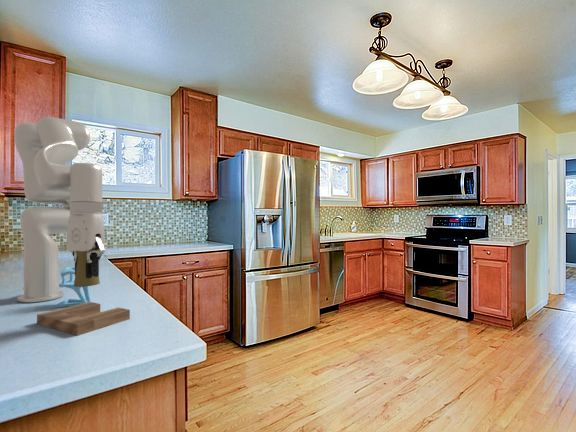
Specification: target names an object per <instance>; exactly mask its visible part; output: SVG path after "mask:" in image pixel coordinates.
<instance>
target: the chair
mask: <svg viewBox="0 0 576 432" xmlns="http://www.w3.org/2000/svg"><path fill="white" fill-rule="evenodd" d="M67 275H69V280H67V281H66V277H65V276H67ZM73 275H75V266H74V267H70V266H67V267H65V268H63V269H62V270H61V272H60V276H61V279H62V281H61V283H58V288H68V289H71V290H73V291H74V292H75V293H76V295H77V296H78V297H79V298H67V299H65V300H62V301H61V302H59V303H57V304H55V305H54V306H55V309H58V308H59V309H60V308H66V307H70V306H75V305H79V304H83V303H87V302H92V299H91V294H90V291H89V286H85V287H75V286H74V281H75V279H74V276H73ZM81 288H82V289H83V292H82V289H81ZM83 293H84V294H83Z"/></svg>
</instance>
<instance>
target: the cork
mask: <svg viewBox="0 0 576 432" xmlns="http://www.w3.org/2000/svg"><path fill="white" fill-rule="evenodd" d="M92 250H96V248H92V249H90V251H92ZM76 255H77V256H78V261H77V267H76V274H74V280H75V281H74V286H75V287H81V288H83V287H85V286H88V287H93V286H97V285H99V284H101V283H100V275H99V276H98V277H94V276H93V275H92V277H91V278H86V263H88V262H87V254H86V252H79V251H76ZM92 255H93V253H91V256H92Z"/></svg>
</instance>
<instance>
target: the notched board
mask: <svg viewBox="0 0 576 432" xmlns="http://www.w3.org/2000/svg"><path fill="white" fill-rule="evenodd" d="M130 317H131V310H130V309H129V308H128V309H127V308H124V307H115V308H111V309H107V310H103V311H101V303H96V302H93V301H91V302H87V303H83V304H79V305H75V306H69V307H61V308H59V309H58V308H57V309H54V310H49V311H46V312H42V313H37V314H36V324H37V325H40V326H43V327H46V328H50V329H54V330H57V331H61V332H65V333H68V334H72V335H75V336H80V334H81V335H84V334H86V333H89V332H93V331H95V330H99V329H102V328H105V327H108V326H111V325H115V324H118V323H121V322H124V321H127V320H131V319H130Z"/></svg>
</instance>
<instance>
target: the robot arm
mask: <svg viewBox="0 0 576 432" xmlns="http://www.w3.org/2000/svg"><path fill="white" fill-rule="evenodd" d="M13 135H14V136H13V137H14V144H15V148H16V150H17V153H18V155H19V157H20V160H21V162H22V169H23V171H22V172H23V189H24V196H25V198H26V199H27V201H28V202H31V203H34V204H49V205H50V204H51V205H56V204H57V205H62V206H61V207H60V206H33V207H32V206H31V207H27V208H25V209H23V210H22V212H21V213H20V216H19V218H20V219H19V221H20V225H21V226H20V227H21V231H22V239H23V287H22V290H23V294H21V295H19V296H18V297H17V302H19V303H39V302H47V301H53V300H57V299H59V298H63V296H64V295H65V294H64V291H63V290H59V246H58V244H57V242H56V241H55V240H54V239H53V238H52V237H51V236H50V235H58V234H59V235H60V234H61V235H62V234H66V249H67V250H68V251H69V252H70V253H71V255H72V256H73V262H74V267H75V274H76V267H77V261H78V256H77V255H76V251H79V252H86V254H87V262H88V263H86V278H91V277H92V275H93V276H94V277H98V276H99V277H100V274H99V273H100V271H99V269H100V266H99V265H100V261H101V258H102V255H103V254H105V252H106V249H105V239H106V238H105V236H106V235H105V224H104V217H103V170H102V167H101V166H100V165H99V164H94V163H90V162H75V163H73V164H66V163H68V162H71V161H73V160H75V159H76V157H77V156H78V155H79V151H81V150H83V149H85V148H86V147H88V145H89V143H90V140H91V134H90V131H89V129H88V127H87V126H86V125H85V124H83V123H82V122H78V121H76V120H75V121H74V120H69V119H64V118H59V117H52V116H46V117H45V116H44V117H42V118H40V119H39V120H38V121H37V123H35V122H21V123H18V124H17V125H16V126H15V129H14V133H13ZM92 248H96V250H92V251H90V249H92ZM91 253H93V255H92V256H91ZM75 274H74V275H75Z"/></svg>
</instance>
